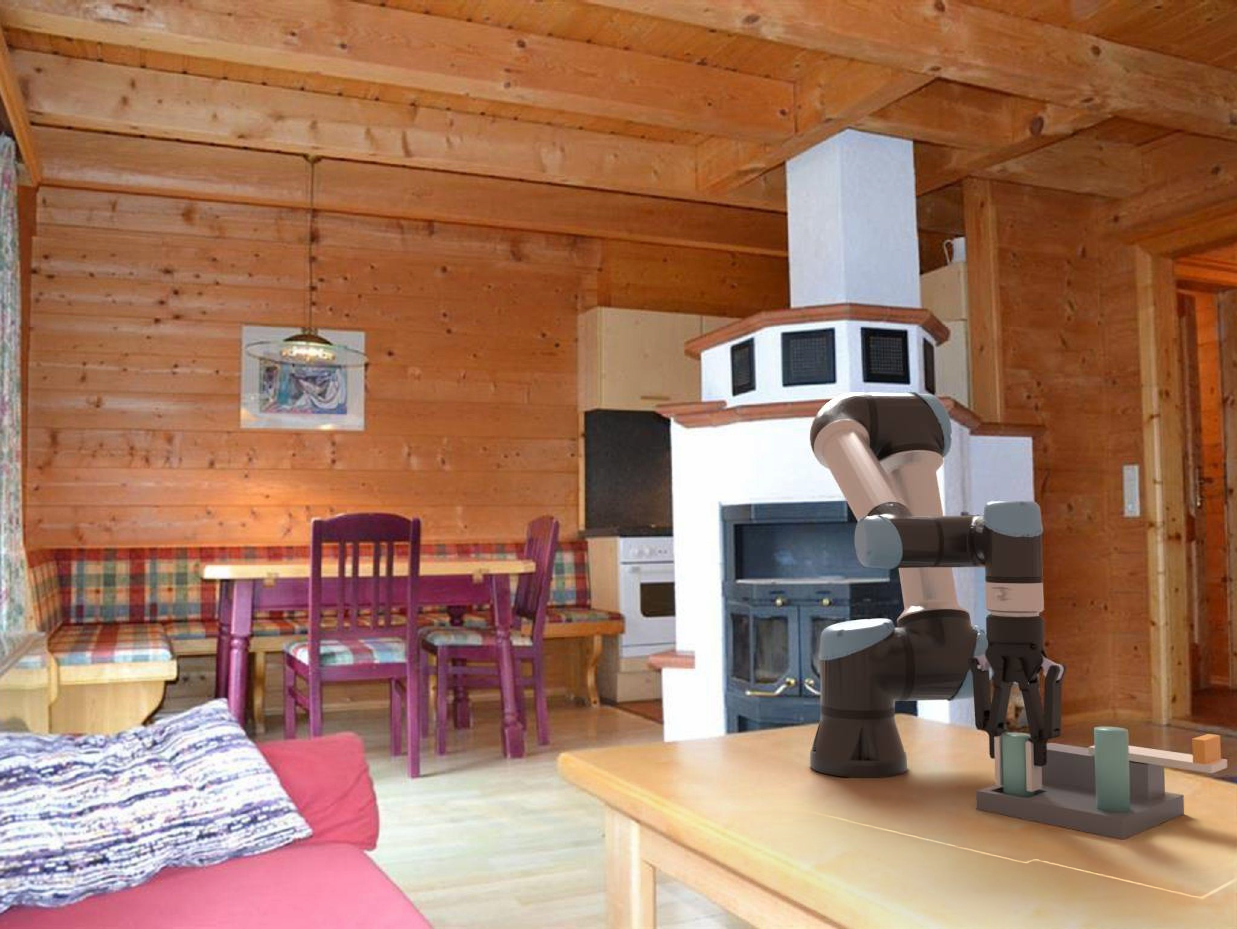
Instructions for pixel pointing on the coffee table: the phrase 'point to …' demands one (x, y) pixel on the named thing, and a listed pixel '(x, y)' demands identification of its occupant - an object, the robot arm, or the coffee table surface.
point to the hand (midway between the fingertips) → (1018, 786)
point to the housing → (1092, 790)
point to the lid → (1182, 755)
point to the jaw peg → (1015, 764)
